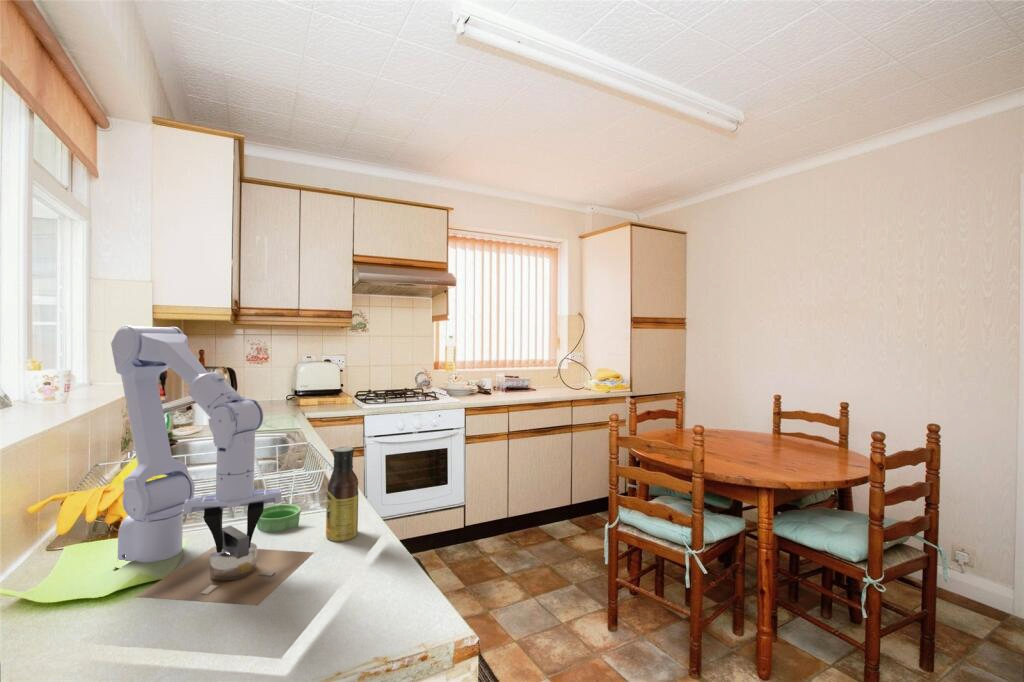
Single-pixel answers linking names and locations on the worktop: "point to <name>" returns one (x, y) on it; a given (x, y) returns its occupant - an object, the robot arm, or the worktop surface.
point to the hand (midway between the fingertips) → (233, 548)
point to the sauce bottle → (342, 497)
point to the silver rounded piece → (233, 556)
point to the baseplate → (247, 590)
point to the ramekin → (279, 518)
